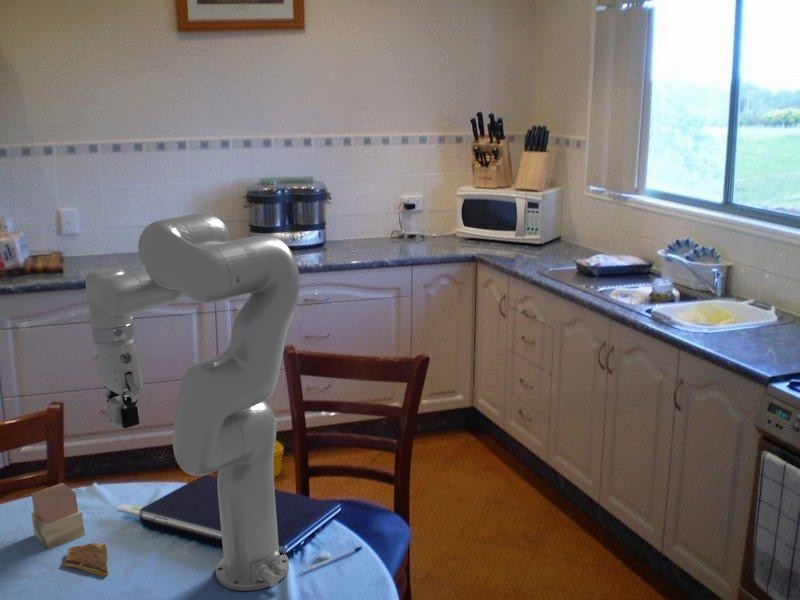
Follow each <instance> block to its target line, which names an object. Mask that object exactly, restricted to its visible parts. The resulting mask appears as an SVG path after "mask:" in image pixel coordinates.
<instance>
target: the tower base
mask: <svg viewBox="0 0 800 600" xmlns="http://www.w3.org/2000/svg"><path fill="white" fill-rule="evenodd" d="M31 518H32V526H33V532H34V536H35V538H37V539H38V540H39V541H40V543H42V545H43V546H44V547H45V548H46V549H47V550H50V549H53V548H56V547H58V546H60V545H64V544H66V543H69V542H71V541H74V540H77V539H79V538H81V537H82V538H83V537H85V536H86V532H85V525H84V518H83V512H82V511H81V510H80V509H79V508H78V513H75V514H72V515H69V516H67V517H64V518H61V519H59V520H56V521H53V522H50V523H48V524H46V523H45V522H44V521H43V520H42V519H41V518H40V517H39V516H38V515H36V514H35V513H34V510H33V511H31Z"/></svg>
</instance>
